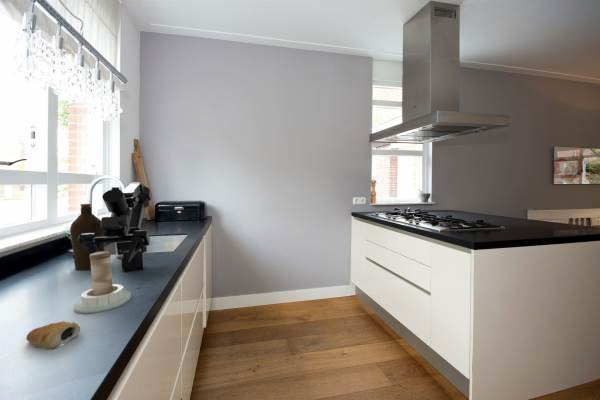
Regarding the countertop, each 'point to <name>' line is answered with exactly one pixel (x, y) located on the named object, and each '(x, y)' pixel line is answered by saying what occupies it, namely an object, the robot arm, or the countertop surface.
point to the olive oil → (84, 226)
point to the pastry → (53, 334)
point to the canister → (101, 273)
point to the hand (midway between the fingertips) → (110, 263)
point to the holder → (102, 300)
